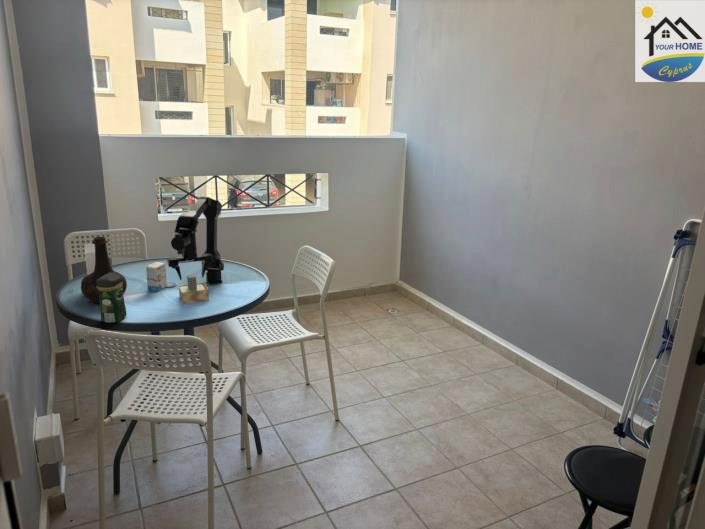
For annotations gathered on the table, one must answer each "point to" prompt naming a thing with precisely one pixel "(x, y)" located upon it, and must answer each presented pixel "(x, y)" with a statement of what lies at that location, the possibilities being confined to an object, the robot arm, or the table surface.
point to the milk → (90, 257)
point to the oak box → (194, 295)
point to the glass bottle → (98, 271)
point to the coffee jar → (111, 298)
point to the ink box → (156, 276)
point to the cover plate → (185, 288)
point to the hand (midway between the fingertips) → (191, 278)
